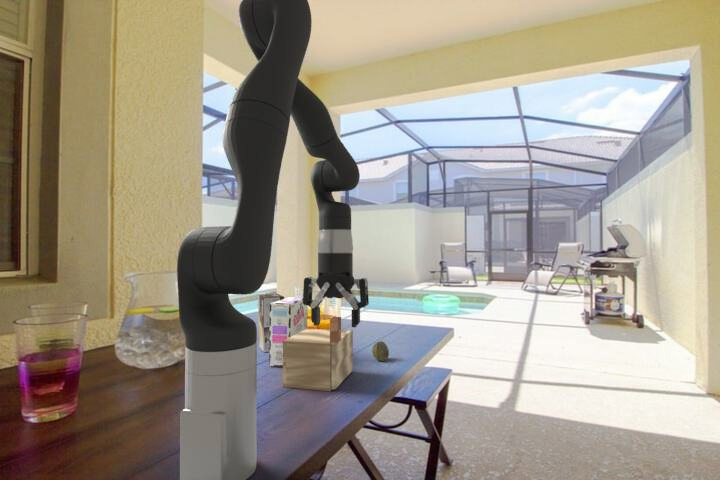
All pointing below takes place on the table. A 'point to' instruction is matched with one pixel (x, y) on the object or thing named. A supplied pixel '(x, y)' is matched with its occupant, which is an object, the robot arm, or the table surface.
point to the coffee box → (265, 318)
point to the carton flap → (340, 352)
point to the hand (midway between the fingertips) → (335, 325)
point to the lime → (380, 351)
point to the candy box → (285, 325)
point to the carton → (308, 360)
